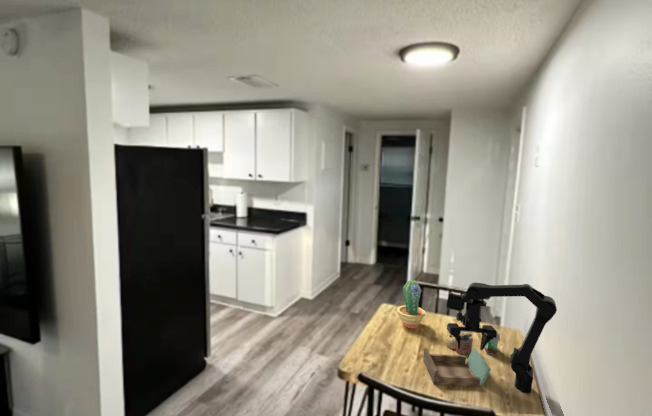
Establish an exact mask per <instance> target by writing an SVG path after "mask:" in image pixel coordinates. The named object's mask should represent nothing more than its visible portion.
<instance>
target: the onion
mask: <svg viewBox="0 0 652 416" xmlns="http://www.w3.org/2000/svg"><path fill="white" fill-rule="evenodd" d="M444 343H445V346H446V347H447V348H449V349H451V350H455V351H456V347H457V343H456V339H455V337H453V335H451V334H450V333H449V335H448V336H447V337H446V338H445V341H444Z"/></svg>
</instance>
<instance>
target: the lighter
mask: <svg viewBox="0 0 652 416" xmlns="http://www.w3.org/2000/svg"><path fill="white" fill-rule="evenodd" d="M472 335H473V334H472V332H462V334H461V333H460V336H461V342H460V349H458V347H456V350H455V352H456V354H457V355H465V354H471V351H472V349H473V341H474V339H473V337H472Z"/></svg>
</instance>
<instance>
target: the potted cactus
mask: <svg viewBox="0 0 652 416" xmlns="http://www.w3.org/2000/svg"><path fill="white" fill-rule="evenodd" d="M421 293H422V289H421V287H420V285H419V284H418V282H417V281H416V280H415V279H413V280H412V279H410V280H408V281H407V282H406V283H405V284H404V285H403V287H402V295H403V298H404V302H405V305H400V306H398V307H397V308H396V310H397V314H398V316H399V319H400V321H401V325H402V326H403V327H404V326H405V328H407V327H408V328H407V329H418V328H419V324H421V322H422V321H423V319H424V318H425V316H426V311H425V309H423V308H421V307H419V301H420V298H421Z"/></svg>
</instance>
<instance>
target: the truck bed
mask: <svg viewBox="0 0 652 416" xmlns="http://www.w3.org/2000/svg"><path fill="white" fill-rule="evenodd" d="M466 362H467V356H466V355H465V354H441V353H430V352H429V349H428V348H426V347H425V348H423V363H424V365H425V367H426V368H425V369H426V371H427V373H428V375H429V377H430V379H431V382H432V383H433V385H435V386H436V385H437V386H459V387H477V388H479V387H480V386H481V385H480V377H475V376H473V375H474V374H473V373H472V371H471V369H470V368H469V366H468V365H467V363H466Z"/></svg>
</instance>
